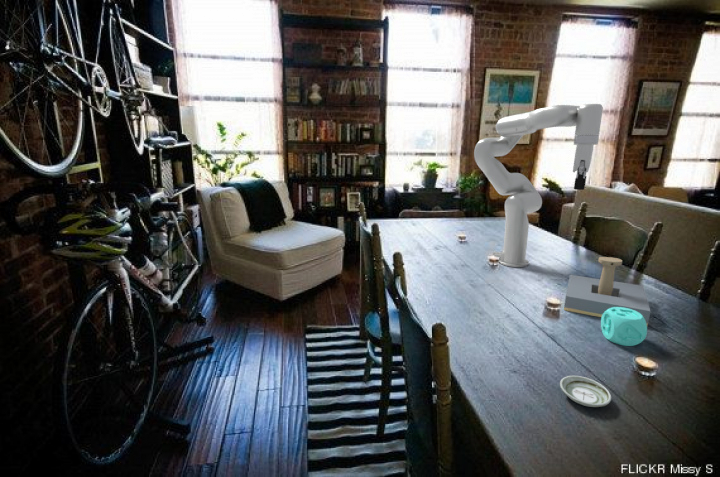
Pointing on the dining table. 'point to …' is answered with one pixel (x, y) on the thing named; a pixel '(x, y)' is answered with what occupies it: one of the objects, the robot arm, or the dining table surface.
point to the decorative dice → (623, 326)
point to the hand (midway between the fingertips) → (579, 187)
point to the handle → (607, 274)
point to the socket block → (604, 297)
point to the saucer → (585, 391)
